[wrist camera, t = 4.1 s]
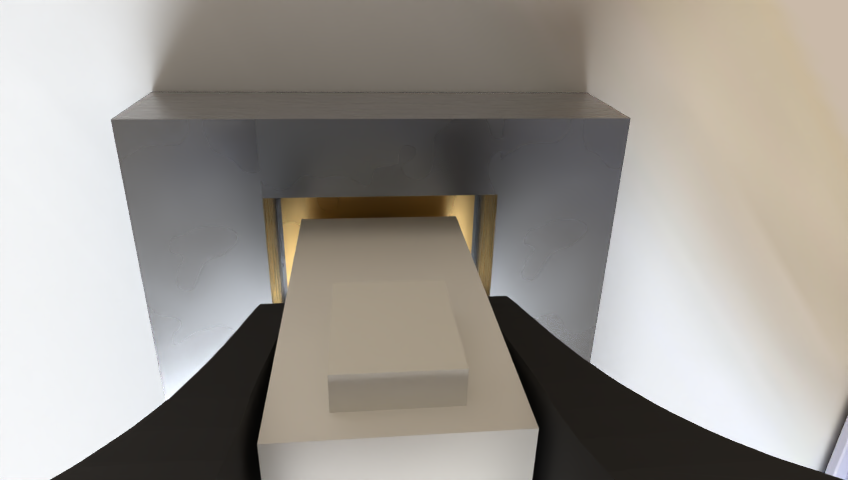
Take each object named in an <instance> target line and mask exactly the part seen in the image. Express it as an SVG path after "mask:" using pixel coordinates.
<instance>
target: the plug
mask: <svg viewBox="0 0 848 480" xmlns="http://www.w3.org/2000/svg"><path fill="white" fill-rule="evenodd" d="M538 432H539V427H538V425H537V422H536V420H535V417H534V415H533V412H532V409H531V407H530V404H529V402H528V399H527V397H526V394H525V392H524V389H523V386H522V384H521V381H520V379H519V376H518V374H517V371H516V369H515V366H514V363H513V361H512V358H511V356H510V353H509V351H508V348H507V346H506V343H505V340H504V338H503V335H502V333H501V330H500V328H499V325H498V322H497V320H496V317H495V315H494V312H493V310H492V307H491V305H490V302H489V299H488V297H487V294H486V292H485V289H484V287H483V284H482V282H481V279H480V276H479V274H478V271H477V269H476V266H475V264H474V261H473V259H472V256H471V253H470V251H469V248H468V246H467V243H466V241H465V238H464V236H463V233H462V230H461V228H460V225H459V223H458V220H457V218H456V216H441V217H389V218H338V219H301V224H300V229H299V235H298V240H297V245H296V250H295V255H294V260H293V265H292V270H291V275H290V280H289V285H288V290H287V295H286V300H285V305H284V310H283V316H282V321H281V326H280V331H279V336H278V341H277V346H276V351H275V356H274V361H273V366H272V371H271V376H270V381H269V386H268V391H267V397H266V402H265V407H264V412H263V417H262V422H261V427H260V432H259V437H258V442H257V448H258V456H259V465H260V473H261V480H532V478H533V470H534V462H535V455H536V447H537V439H538Z"/></svg>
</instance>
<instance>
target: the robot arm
mask: <svg viewBox="0 0 848 480" xmlns="http://www.w3.org/2000/svg"><path fill="white" fill-rule="evenodd" d="M487 297H488V299H489V302H490V305H491V307H492V310H493V312H494V315H495V317H496V320H497V322H498V325H499V328H500V330H501V333H502V335H503V338H504V340H505V343H506V346H507V348H508V351H509V353H510V356H511V358H512V361H513V363H514V366H515V369H516V371H517V374H518V376H519V379H520V381H521V384H522V386H523V389H524V392H525V394H526V397H527V399H528V402H529V404H530V407H531V409H532V412H533V415H534V417H535V420H536V422H537V425H538V427H539V432H538V439H537V447H536V455H535V462H534V470H533V478H532V480H848V416H847V419H846V421H845V424H844V426H843V429H842V431H841V434H840V436H839V439H838V441H837V444H836V446H835V449H834V451H833V454H832V456H831V459H830V461H829V464H828V466H827V469H826V471H825V473H822V472H819V471H816V470H813V469H810V468H807V467H803V466H800V465H797V464H794V463H791V462H788V461H785V460H782V459H779V458H776V457H773V456H770V455H768V454H765V453H763V452H760V451H758V450H755V449H753V448H750V447H747V446H745V445H742V444H740V443H737V442H735V441H732V440H730V439H727V438H725V437H723V436H720V435H718V434H716V433H713V432H711V431H709V430H707V429H704V428H702V427H700V426H698V425H696V424H694V423H692V422H690V421H688V420H686V419H684V418H682V417H680V416H678V415H675V414H673V413H671V412H669V411H668V410H666V409H664V408H662V407H660V406H658V405H656V404H654V403H653V402H651V401H649V400H647V399H646V398H644V397H642V396H641V395H639V394H637V393H635V392H634V391H632V390H630V389H629V388H627V387H625V386H624V385H622V384H620V383H619V382H617V381H616V380H614V379H613V378H611V377H609V376H608V375H606V374H605V373H604V372H602V371H601V370H599V369H598V368H596V367H595V366H594V365H592V364H591V363H589V362H588V361H587V360H585V359H584V358H582V357H581V356H580V355H578V354H577V353H576V352H574V351H573V350H572V349H570V348H569V347H568V346H567V345H565V344H564V343H563V342H562V341H560V340H559V339H558V338H557V337H555V336H554V335H553V334H552V333H550V332H549V331H548V330H547V329H546V328H544V327H543V326H542V325H541V324H540V323H539V322H537V321H536V320H535V319H534V318H533V317H532V316H530V315H529V314H528V313H527V312H526V311H525V310H523V309H522V308H521V307H520V306H519V305H518V304H516V303H515V302H514V301H513V300H512V299H510V298H509V297H508V296H487ZM284 305H285V303H271V304H260V305H259V306H258V307H257V308H255V309H254V311H253V312H252V313H251V314H250V315H249V316H248V318H247V319H246V320H245V321H244V322H243V323H242V325H241V326H240V327H239V328H238V329H237V330H236V331H235V333H234V334H233V335H232V336H231V337H230V338H229V339H228V340H227V342H226V343H225V344H224V345H223V346H222V347H221V348H220V349H219V350H218V351H217V352H216V353H215V354H214V355H213V357H212V358H211V359H210V360H209V361H208V362H207V363H206V364H205V365H204V366H203V367H202V368H201V369H200V370H199V371H198V372H197V373H196V374H195V375H194V376H193V377H192V378H190V379H189V380H188V381H187V382H186V383H185V384H184V385H183V386H182V387H181V388H180V389H179V390H178V391H177V392H176V393H175V394H173V395H172V396H171V397H170V398H169V399H168V400H166V401H165V402H164V403H163V404H162V405H160V406H159V407H158V408H157V409H155V410H154V411H153V412H152V413H150V414H149V415H148V416H146V417H145V418H144V419H142V420H141V421H140V422H139V423H137V424H136V425H135V426H133V427H132V428H130V429H129V430H128V431H126V432H125V433H123V434H122V435H120V436H119V437H117V438H116V439H114V440H113V441H111V442H110V443H108V444H107V445H105V446H104V447H102V448H101V449H99V450H98V451H96V452H95V453H93V454H92V455H90V456H89V457H87V458H86V459H84V460H83V461H81V462H79V463H78V464H76V465H75V466H73V467H71V468H70V469H68V470H66V471H64V472H63V473H61V474H59V475H58V476H56V477H54V478H52V479H51V480H261V473H260V465H259V456H258V448H257V442H258V437H259V432H260V427H261V422H262V417H263V412H264V407H265V402H266V397H267V391H268V386H269V381H270V376H271V371H272V366H273V361H274V356H275V351H276V346H277V341H278V336H279V331H280V326H281V321H282V316H283V310H284Z"/></svg>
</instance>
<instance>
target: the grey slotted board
mask: <svg viewBox="0 0 848 480" xmlns="http://www.w3.org/2000/svg"><path fill="white" fill-rule="evenodd" d="M111 122H112V127H113V133H114V138H115V143H116V148H117V153H118V158H119V163H120V169H121V174H122V179H123V184H124V189H125V194H126V200H127V205H128V210H129V215H130V220H131V225H132V230H133V236H134V241H135V246H136V251H137V256H138V261H139V267H140V272H141V277H142V282H143V287H144V292H145V297H146V303H147V308H148V313H149V318H150V323H151V328H152V333H153V339H154V344H155V349H156V354H157V359H158V364H159V370H160V375H161V380H162V385H163V390H164V395H165V400H168V399H169V398H170V397H171V396H172V395H173V394H175V393H176V392H177V391H178V390H179V389H180V388H181V387H182V386H183V385H184V384H185V383H186V382H187V381H188V380H189V379H190V378H192V377H193V376H194V375H195V374H196V373H197V372H198V371H199V370H200V369H201V368H202V367H203V366H204V365H205V364H206V363H207V362H208V361H209V360H210V359H211V358H212V357H213V355H214V354H215V353H216V352H217V351H218V350H219V349H220V348H221V347H222V346H223V345H224V344H225V343H226V342H227V340H228V339H229V338H230V337H231V336H232V335H233V334H234V333H235V331H236V330H237V329H238V328H239V327H240V326H241V325H242V323H243V322H244V321H245V320H246V319H247V318H248V316H249V315H250V314H251V313H252V312H253V311H254V309H255V308H257V307H258V306H259V305H260V304H271V303H285V300H286V295H287V290H288V285H289V280H290V275H291V270H292V265H293V260H294V255H295V250H296V245H297V240H298V235H299V229H300V224H301V219H338V218H389V217H441V216H456V218H457V220H458V223H459V225H460V228H461V230H462V233H463V236H464V238H465V241H466V243H467V246H468V248H469V251H470V253H471V256H472V259H473V261H474V264H475V266H476V269H477V271H478V274H479V276H480V279H481V282H482V284H483V287H484V289H485V292H486V294H487V296H508V297H509V298H510V299H512V300H513V301H514V302H515V303H516V304H518V305H519V306H520V307H521V308H522V309H523V310H525V311H526V312H527V313H528V314H529V315H530V316H532V317H533V318H534V319H535V320H536V321H537V322H539V323H540V324H541V325H542V326H543V327H544V328H546V329H547V330H548V331H549V332H550V333H552V334H553V335H554V336H555V337H557V338H558V339H559V340H560V341H562V342H563V343H564V344H565V345H567V346H568V347H569V348H570V349H572V350H573V351H574V352H576V353H577V354H578V355H580V356H581V357H582V358H584V359H585V360H587V361H588V362H589V363H590V358H591V352H592V346H593V340H594V334H595V328H596V322H597V316H598V310H599V304H600V298H601V292H602V286H603V280H604V274H605V268H606V262H607V256H608V250H609V244H610V238H611V232H612V226H613V220H614V214H615V208H616V202H617V196H618V189H619V183H620V177H621V171H622V165H623V159H624V153H625V147H626V141H627V135H628V129H629V123H630V118H629V117H627V116H626V115H624V114H622V113H621V112H619V111H617V110H616V109H614V108H612V107H610V106H609V105H607V104H605V103H604V102H602V101H600V100H599V99H597V98H595V97H594V96H592V95H590V94H589V93H368V92H151V93H149V94H148V95H146V96H145V97H143V98H142V99H140V100H139V101H137V102H136V103H134V104H133V105H131V106H130V107H129V108H127V109H126V110H124V111H123V112H121V113H120V114H118V115H117V116H115V117H114V118H112V119H111Z"/></svg>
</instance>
